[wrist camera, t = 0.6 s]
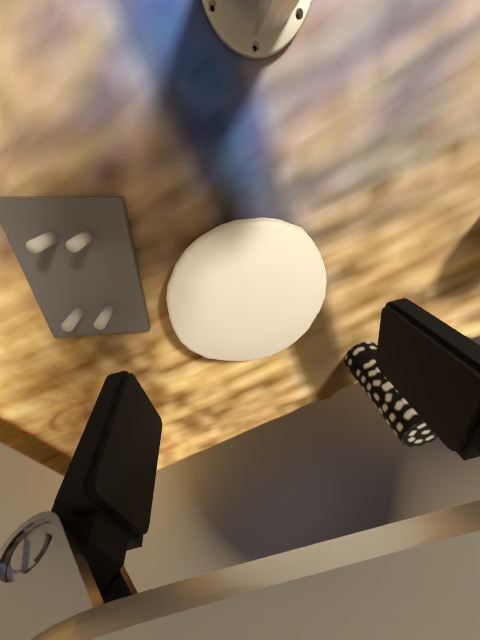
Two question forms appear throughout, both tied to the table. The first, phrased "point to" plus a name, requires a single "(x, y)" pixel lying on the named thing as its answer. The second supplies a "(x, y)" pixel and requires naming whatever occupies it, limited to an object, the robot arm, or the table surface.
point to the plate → (246, 289)
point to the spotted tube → (387, 397)
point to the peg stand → (78, 262)
